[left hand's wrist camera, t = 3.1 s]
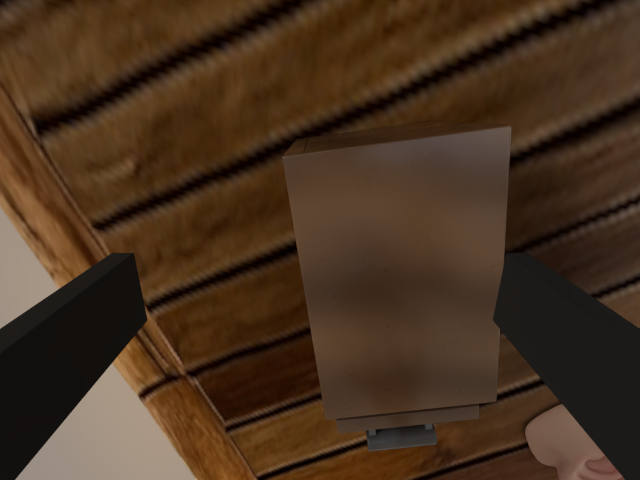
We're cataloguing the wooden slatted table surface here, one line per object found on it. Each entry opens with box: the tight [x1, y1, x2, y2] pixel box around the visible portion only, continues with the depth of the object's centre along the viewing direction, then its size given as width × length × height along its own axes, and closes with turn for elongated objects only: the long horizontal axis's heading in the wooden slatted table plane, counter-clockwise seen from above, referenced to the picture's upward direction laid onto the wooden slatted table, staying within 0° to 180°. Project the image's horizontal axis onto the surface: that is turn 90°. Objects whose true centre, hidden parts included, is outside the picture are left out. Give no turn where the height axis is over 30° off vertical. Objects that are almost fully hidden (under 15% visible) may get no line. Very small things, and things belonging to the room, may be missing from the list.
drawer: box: [336, 404, 479, 451], centre depth 27 cm, size 22×10×10 cm, turn 8°
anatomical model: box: [525, 404, 625, 480], centre depth 37 cm, size 13×4×12 cm
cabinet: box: [282, 121, 511, 420], centre depth 25 cm, size 17×11×12 cm, turn 8°
